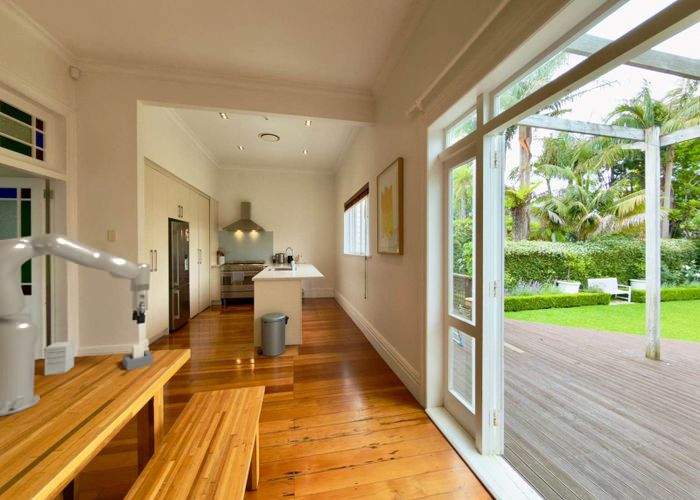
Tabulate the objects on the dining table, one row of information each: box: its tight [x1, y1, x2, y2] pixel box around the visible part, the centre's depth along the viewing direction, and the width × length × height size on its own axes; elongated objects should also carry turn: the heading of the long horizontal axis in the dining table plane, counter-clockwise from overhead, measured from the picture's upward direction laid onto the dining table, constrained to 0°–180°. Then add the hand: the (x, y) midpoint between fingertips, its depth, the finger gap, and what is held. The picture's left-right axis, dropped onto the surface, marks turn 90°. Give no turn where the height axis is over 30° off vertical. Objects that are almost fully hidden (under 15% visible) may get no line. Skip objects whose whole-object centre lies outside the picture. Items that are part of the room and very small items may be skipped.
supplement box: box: [44, 340, 76, 376], centre depth 122 cm, size 7×7×13 cm
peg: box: [131, 343, 145, 359], centre depth 132 cm, size 4×4×9 cm
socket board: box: [121, 349, 154, 371], centre depth 132 cm, size 12×10×4 cm
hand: (138, 321), depth 132 cm, fingers open, 9 cm apart
